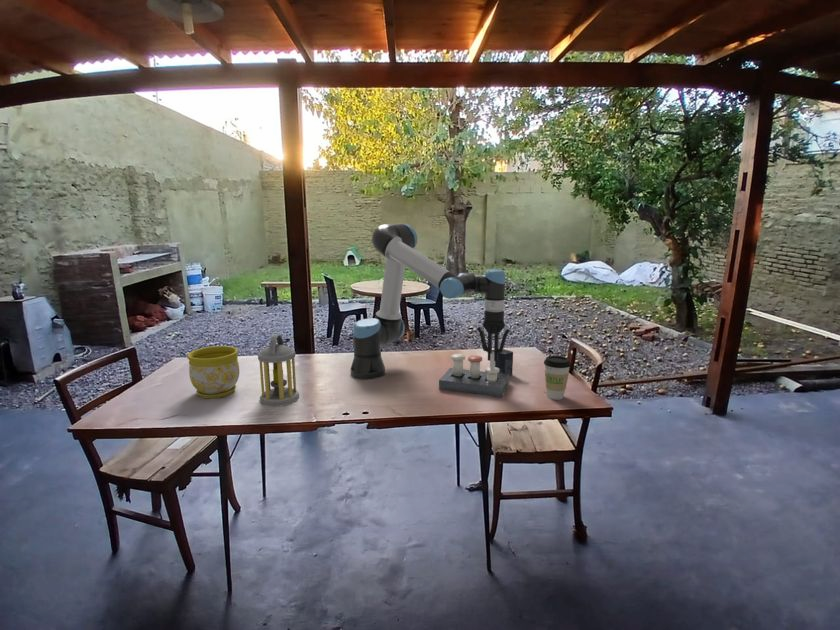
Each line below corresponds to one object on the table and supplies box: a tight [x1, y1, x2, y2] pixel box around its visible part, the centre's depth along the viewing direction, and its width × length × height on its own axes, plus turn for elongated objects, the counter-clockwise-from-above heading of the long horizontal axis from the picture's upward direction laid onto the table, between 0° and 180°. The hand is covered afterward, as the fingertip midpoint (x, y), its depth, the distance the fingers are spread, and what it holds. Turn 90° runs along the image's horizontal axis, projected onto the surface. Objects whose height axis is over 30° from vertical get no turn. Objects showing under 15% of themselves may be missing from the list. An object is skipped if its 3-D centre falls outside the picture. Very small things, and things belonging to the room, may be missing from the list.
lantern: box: [257, 333, 300, 407], centre depth 176 cm, size 14×14×25 cm
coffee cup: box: [543, 355, 572, 401], centre depth 179 cm, size 10×10×15 cm
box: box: [492, 347, 514, 377], centre depth 205 cm, size 8×6×11 cm
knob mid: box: [467, 355, 483, 378], centre depth 189 cm, size 6×6×8 cm
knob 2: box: [484, 366, 499, 382], centre depth 188 cm, size 6×6×8 cm
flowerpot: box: [186, 345, 240, 399], centre depth 183 cm, size 18×18×16 cm
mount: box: [438, 367, 510, 398], centre depth 191 cm, size 25×16×4 cm, turn 70°
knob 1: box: [450, 353, 466, 376], centre depth 192 cm, size 6×6×8 cm
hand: (492, 368), depth 187 cm, fingers closed
